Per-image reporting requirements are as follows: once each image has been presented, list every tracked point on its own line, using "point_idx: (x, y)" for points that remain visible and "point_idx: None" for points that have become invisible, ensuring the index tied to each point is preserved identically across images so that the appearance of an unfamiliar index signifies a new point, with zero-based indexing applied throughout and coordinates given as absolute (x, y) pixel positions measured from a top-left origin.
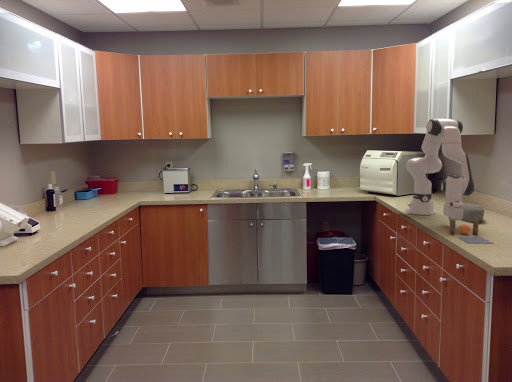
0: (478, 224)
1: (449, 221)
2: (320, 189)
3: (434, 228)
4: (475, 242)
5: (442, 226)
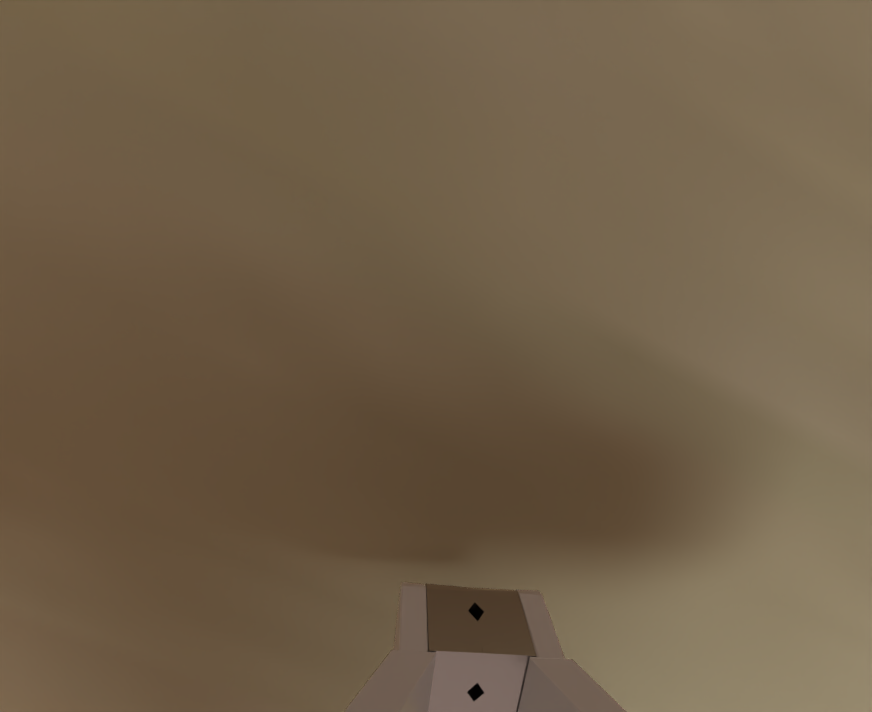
0: None
1: (559, 655)
2: None
3: (380, 29)
4: None
5: (606, 408)
